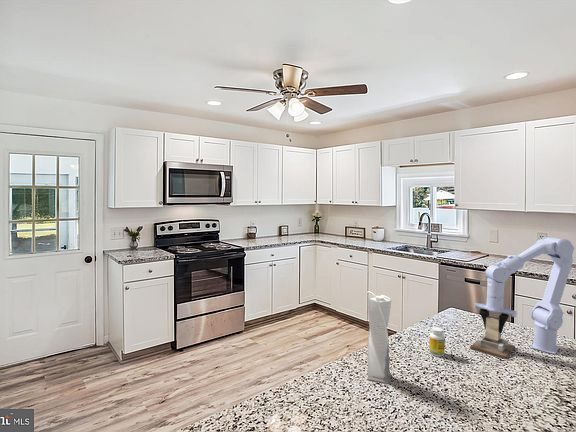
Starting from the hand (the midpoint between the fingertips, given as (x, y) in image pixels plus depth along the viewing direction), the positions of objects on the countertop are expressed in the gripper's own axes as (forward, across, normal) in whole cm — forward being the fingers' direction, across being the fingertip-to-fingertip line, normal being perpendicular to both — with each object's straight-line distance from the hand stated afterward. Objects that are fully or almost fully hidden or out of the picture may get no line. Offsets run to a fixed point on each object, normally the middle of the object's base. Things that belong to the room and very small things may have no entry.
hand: (493, 330), depth 140 cm
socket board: (+7, 0, 0) cm, 7 cm away
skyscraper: (+8, -20, -52) cm, 56 cm away
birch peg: (+3, 0, 0) cm, 3 cm away
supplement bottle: (+8, -14, -21) cm, 26 cm away
